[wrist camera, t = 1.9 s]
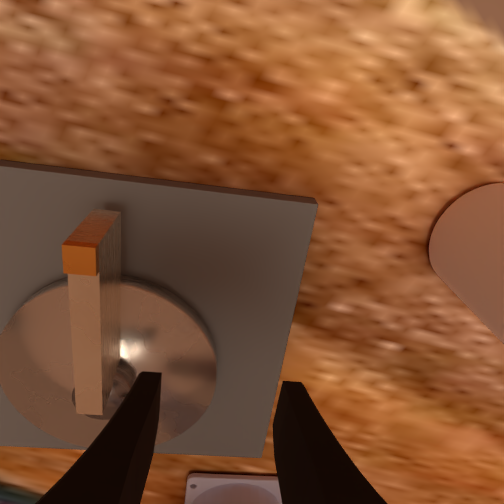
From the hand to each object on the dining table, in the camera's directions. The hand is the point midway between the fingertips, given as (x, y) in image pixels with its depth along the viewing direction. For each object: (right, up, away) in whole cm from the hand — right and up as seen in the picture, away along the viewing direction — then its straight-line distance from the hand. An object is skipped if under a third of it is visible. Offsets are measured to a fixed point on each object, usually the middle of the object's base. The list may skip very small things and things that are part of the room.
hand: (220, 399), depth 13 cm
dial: (-7, 0, +10) cm, 12 cm away
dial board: (-7, 0, +11) cm, 13 cm away
